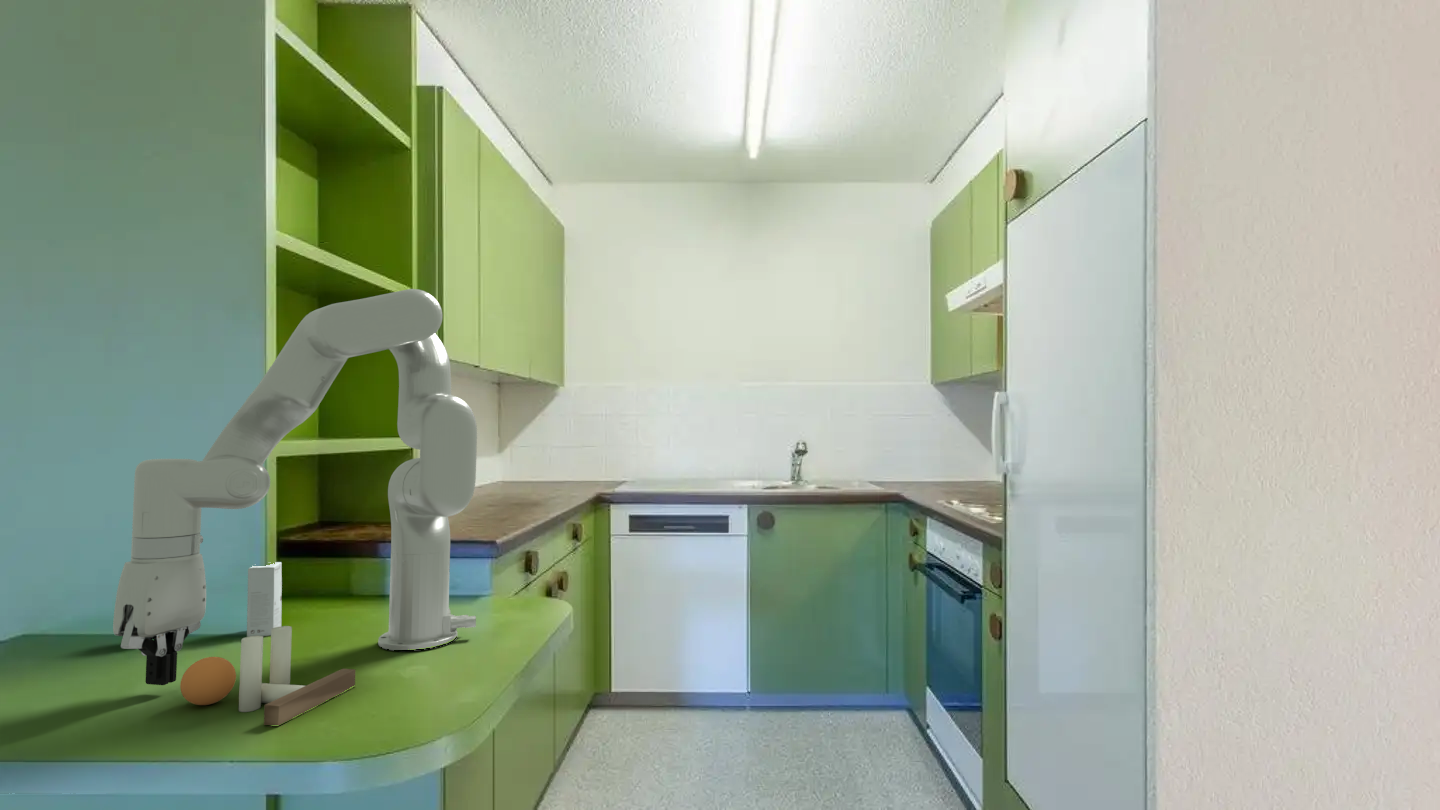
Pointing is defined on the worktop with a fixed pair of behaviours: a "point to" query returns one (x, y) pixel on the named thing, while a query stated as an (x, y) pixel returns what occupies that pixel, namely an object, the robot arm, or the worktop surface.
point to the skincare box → (264, 599)
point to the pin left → (250, 673)
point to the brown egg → (208, 680)
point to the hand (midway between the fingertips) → (160, 682)
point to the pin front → (276, 691)
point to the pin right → (280, 655)
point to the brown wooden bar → (308, 697)
